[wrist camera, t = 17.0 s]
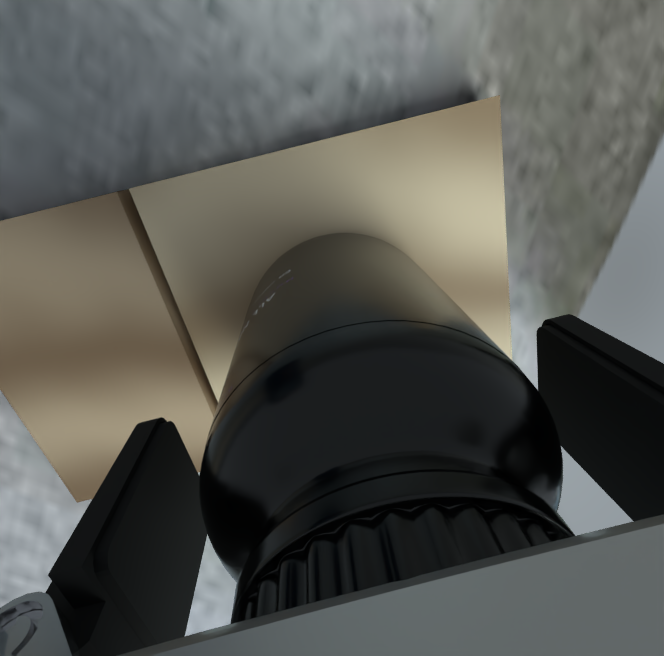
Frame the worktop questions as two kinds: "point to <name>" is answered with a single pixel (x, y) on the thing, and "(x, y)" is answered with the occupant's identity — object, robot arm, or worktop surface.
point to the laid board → (94, 338)
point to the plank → (338, 218)
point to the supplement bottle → (369, 434)
